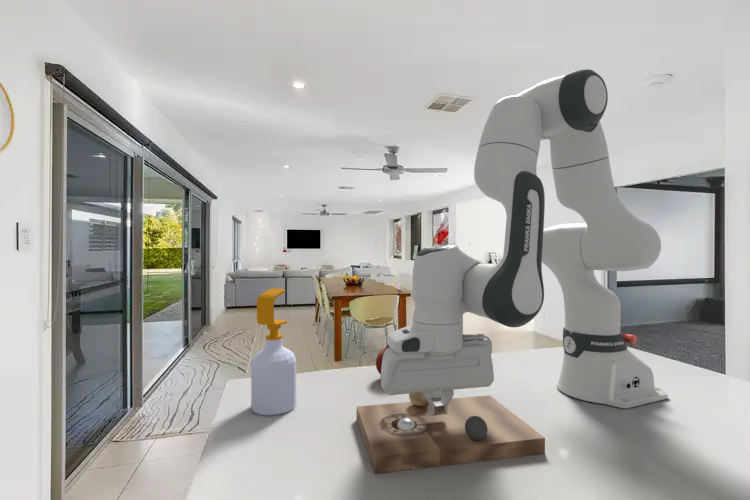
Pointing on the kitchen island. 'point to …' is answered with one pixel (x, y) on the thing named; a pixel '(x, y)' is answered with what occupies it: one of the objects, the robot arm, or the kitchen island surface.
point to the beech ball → (417, 399)
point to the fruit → (380, 359)
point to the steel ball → (405, 424)
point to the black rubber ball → (476, 427)
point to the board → (443, 434)
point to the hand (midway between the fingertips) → (438, 413)
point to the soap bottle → (272, 364)
